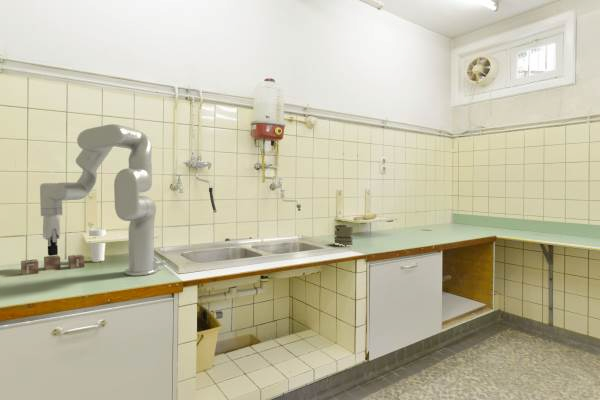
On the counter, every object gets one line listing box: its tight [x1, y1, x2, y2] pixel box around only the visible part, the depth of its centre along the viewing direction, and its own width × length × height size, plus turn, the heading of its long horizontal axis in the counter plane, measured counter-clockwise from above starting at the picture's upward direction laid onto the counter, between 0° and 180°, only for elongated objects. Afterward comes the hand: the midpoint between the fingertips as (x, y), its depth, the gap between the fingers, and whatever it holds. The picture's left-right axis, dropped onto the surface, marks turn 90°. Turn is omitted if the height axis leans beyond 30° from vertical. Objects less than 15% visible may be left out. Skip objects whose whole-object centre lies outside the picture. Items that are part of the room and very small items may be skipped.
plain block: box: [43, 254, 61, 271], centre depth 147 cm, size 5×5×5 cm
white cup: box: [88, 228, 107, 263], centre depth 162 cm, size 7×7×15 cm
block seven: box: [20, 259, 39, 276], centre depth 139 cm, size 5×5×5 cm
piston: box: [333, 224, 354, 246], centre depth 216 cm, size 11×12×11 cm
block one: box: [67, 254, 85, 270], centre depth 150 cm, size 5×5×5 cm
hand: (52, 254), depth 147 cm, fingers closed
